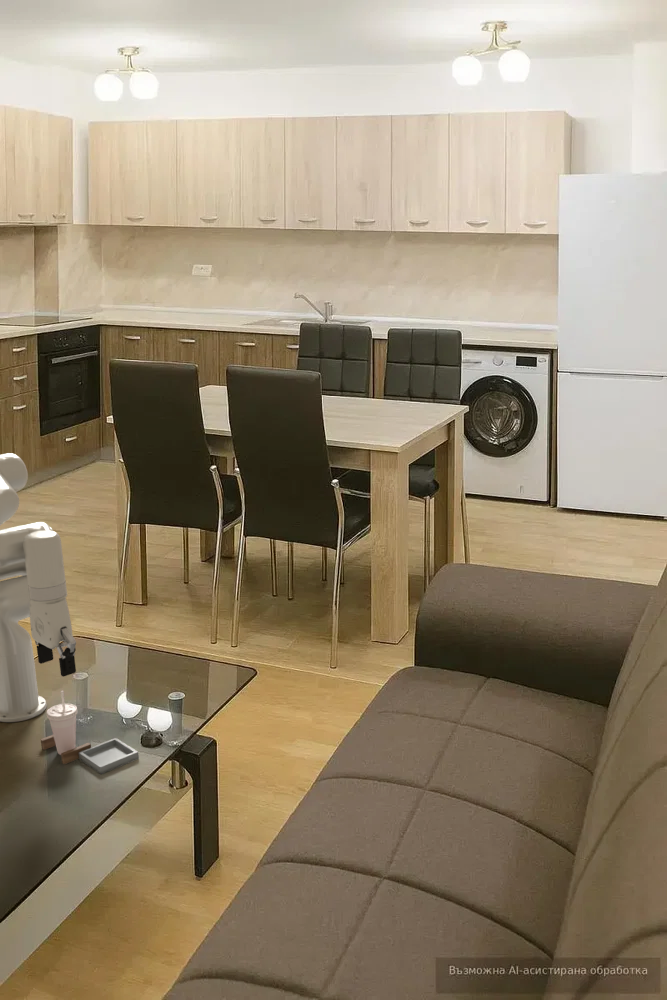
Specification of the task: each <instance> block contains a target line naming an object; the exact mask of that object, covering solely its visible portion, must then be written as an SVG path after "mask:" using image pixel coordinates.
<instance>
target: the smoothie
mask: <svg viewBox="0 0 667 1000" xmlns="http://www.w3.org/2000/svg"><path fill="white" fill-rule="evenodd" d="M60 698H61V703H59V704H56V705H53V706H51V707H49V708H48V709H47V710H46V718H47V719H48V720H49V725H50V728H51V731H52V735H53V736H54V740H55V744H56V746H55V747H56V751H57V753H58V755H60V756H61V753H63V752H66V751H68V750H71V749H73V748H76V747H77V745H76V743H77V741H76V740H77V737H76V736H77V735H76V734H77V733H76V732H77V715H78V708H77V705H76V704H74V703H66V702H65V701H66V700H65V694H64V690H60Z"/></svg>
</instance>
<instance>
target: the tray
mask: <svg viewBox="0 0 667 1000" xmlns="http://www.w3.org/2000/svg"><path fill="white" fill-rule="evenodd" d="M139 755H140V754H139V751H138V750H136V749H134V748H133V747H132V746H129V745H128V744H126V743H125V742H124V741H121V739H118V738H117V737H114V738H112V739H109V740H107V741H104V742H101V743H98V744H96V745H94V746H91V748H89V749H86V750H83V751H81V752H79V759H78V760H80V761H81V762H83V763H84V764H85V765H87V767H90V769H91V768H92V769H93V770H94V771H96V772H97V773H99V774H100V775H103V774H105V773H108V772H110V771H113V770H115V769H118V768H120V767H122V766H124V765H126V764H127V765H128V764H129V763H132V762H134V761H137V760H139V757H140V756H139Z"/></svg>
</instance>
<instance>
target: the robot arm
mask: <svg viewBox="0 0 667 1000" xmlns="http://www.w3.org/2000/svg"><path fill="white" fill-rule="evenodd" d="M28 479H29V473H28V469H27V466H26V464H25V462H24V460H23V459H22V458H21V457H20V456H18V455H17V454H16V453H10V452H7V453H2V454H0V526H1V525H3V524H4V523H5V522H8V521H9V520H10V519H11V518H12V517H14V516H15V514H16V512H17V510H18V508H19V506H20V497H19V495H18V493H17V492H20V491H21V490H22V489H24V487H25V486H26V485H27V482H28ZM62 547H63V546H62V538H61V536H60V534H59V533H58V532H56V531H54V530H53V528H52V527H51V526H50V525H49V524H48V523H46V522H44V521H37V522H31V523H27V524H21V525H15V526H12V527H8V528H1V529H0V722H1V723H16V722H17V723H18V722H22V721H26V720H30V719H33V718H35V717H38V716H39V715H41V714H42V713H44V711H45V710H46V708H47V700H46V699H45V698H44V697H43V696H40V695H39V689H38V682H37V673H36V664H35V658H34V648H33V642H32V641H33V640H34V643H35V645H36V651H37V652H36V653H37V660H38V663H39V664H44V663H48V662H50V661H53V660H54V653H53V650H55V649H56V650H57V652H58V655H59V656H60V657H59V658H58V662H59V669H60V671H59V672H60V676H61V677H67V676H70V675H72V674H75V673H77V668H76V667H77V665H76V660H75V659H76V658H75V655H76V651H77V650H76V644H77V641H76V639H75V637H74V635H73V628H72V627H73V626H72V620H71V614H70V611H69V607H68V602H67V599H66V598H67V597H68V590H67V589H68V588H67V582H66V580H67V579H66V573H65V565H64V556H63V548H62ZM17 576H18V577H17ZM28 618H29V621H30V633H31V634H30V633H29V631H28V630H27V629H26V628H24V627H23V626H22V625H20V624H19V622H20V621H22V620H25V619H28ZM32 639H33V640H32ZM64 647H66V648H65V649H64V650H63V648H64Z"/></svg>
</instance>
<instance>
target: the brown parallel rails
mask: <svg viewBox="0 0 667 1000" xmlns="http://www.w3.org/2000/svg"><path fill="white" fill-rule="evenodd" d="M40 746H41V750H43V751H46V750H48V749H50V748H53V747H56V744H55V740H54V736H53V734H51V735H48V736H45V737H43V738H41V739H40ZM91 747H92V744H91V743H90V742H87V743H84V744H81V745H79V746H76V747H75V748H73V749H71V750H68V751H66V752H63V753H61V755H60V757H61V764H63V765H67V764H70V763H72V762H74V761H76V760H80V759H79V752H81V751H83V750H86V749H89V748H91Z"/></svg>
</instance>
